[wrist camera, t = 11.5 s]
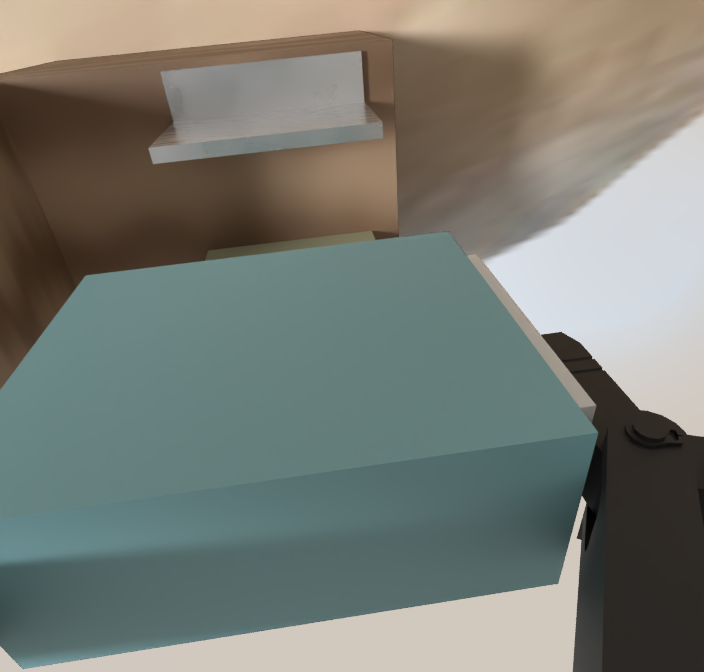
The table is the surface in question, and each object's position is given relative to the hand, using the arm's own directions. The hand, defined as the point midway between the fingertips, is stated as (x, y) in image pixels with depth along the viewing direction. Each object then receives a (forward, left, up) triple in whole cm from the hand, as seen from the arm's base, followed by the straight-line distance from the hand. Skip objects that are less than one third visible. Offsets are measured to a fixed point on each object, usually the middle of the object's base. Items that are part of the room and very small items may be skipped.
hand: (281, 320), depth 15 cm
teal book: (0, 0, 0) cm, 0 cm away
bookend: (-4, 0, -13) cm, 14 cm away
